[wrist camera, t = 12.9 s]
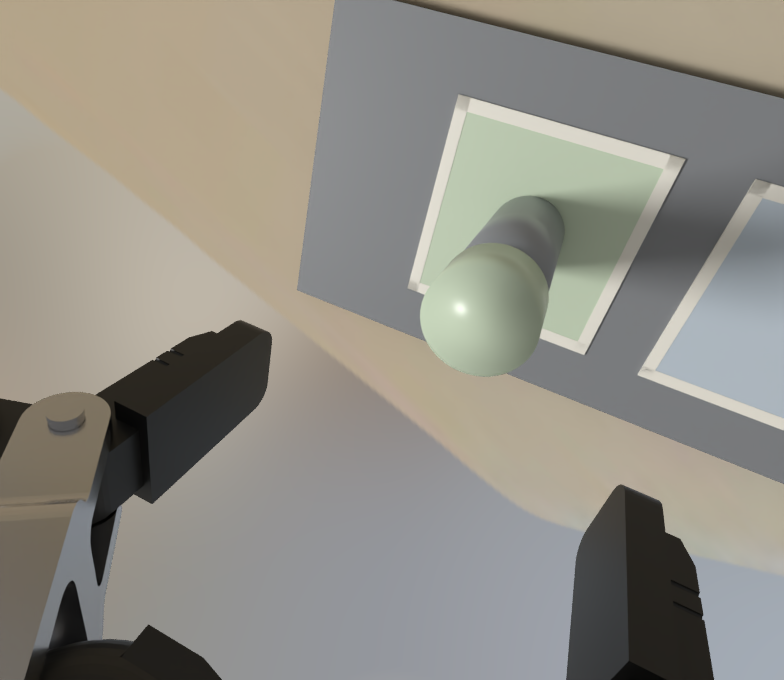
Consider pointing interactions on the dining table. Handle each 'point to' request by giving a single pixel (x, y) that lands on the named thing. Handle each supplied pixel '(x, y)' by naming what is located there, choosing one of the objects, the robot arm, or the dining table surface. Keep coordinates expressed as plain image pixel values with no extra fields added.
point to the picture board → (565, 212)
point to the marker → (496, 291)
